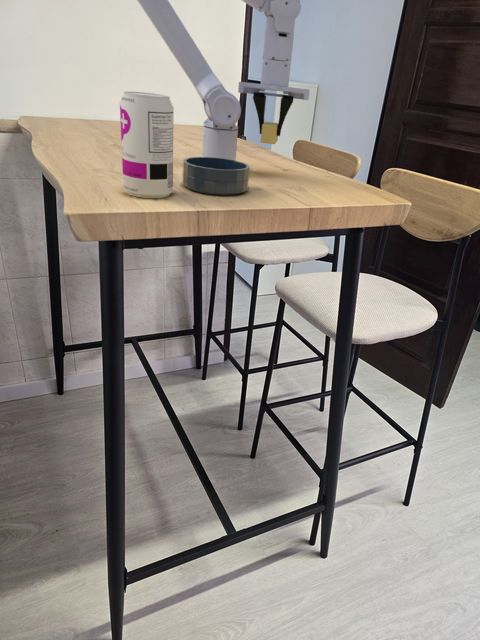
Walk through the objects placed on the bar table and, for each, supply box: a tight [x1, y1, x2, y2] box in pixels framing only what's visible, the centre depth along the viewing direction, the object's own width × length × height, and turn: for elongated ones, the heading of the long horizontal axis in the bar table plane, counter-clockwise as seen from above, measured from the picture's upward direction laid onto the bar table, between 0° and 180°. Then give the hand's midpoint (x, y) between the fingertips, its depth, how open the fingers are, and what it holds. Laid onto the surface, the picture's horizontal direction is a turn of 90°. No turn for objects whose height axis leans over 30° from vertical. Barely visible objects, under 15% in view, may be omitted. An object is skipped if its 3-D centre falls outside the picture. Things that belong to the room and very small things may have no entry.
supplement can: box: [119, 90, 174, 199], centre depth 77 cm, size 8×8×15 cm
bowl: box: [181, 156, 251, 196], centre depth 89 cm, size 12×12×4 cm
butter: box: [260, 121, 279, 145], centre depth 102 cm, size 7×3×4 cm, turn 173°
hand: (269, 134), depth 102 cm, fingers closed on butter, 3 cm apart
